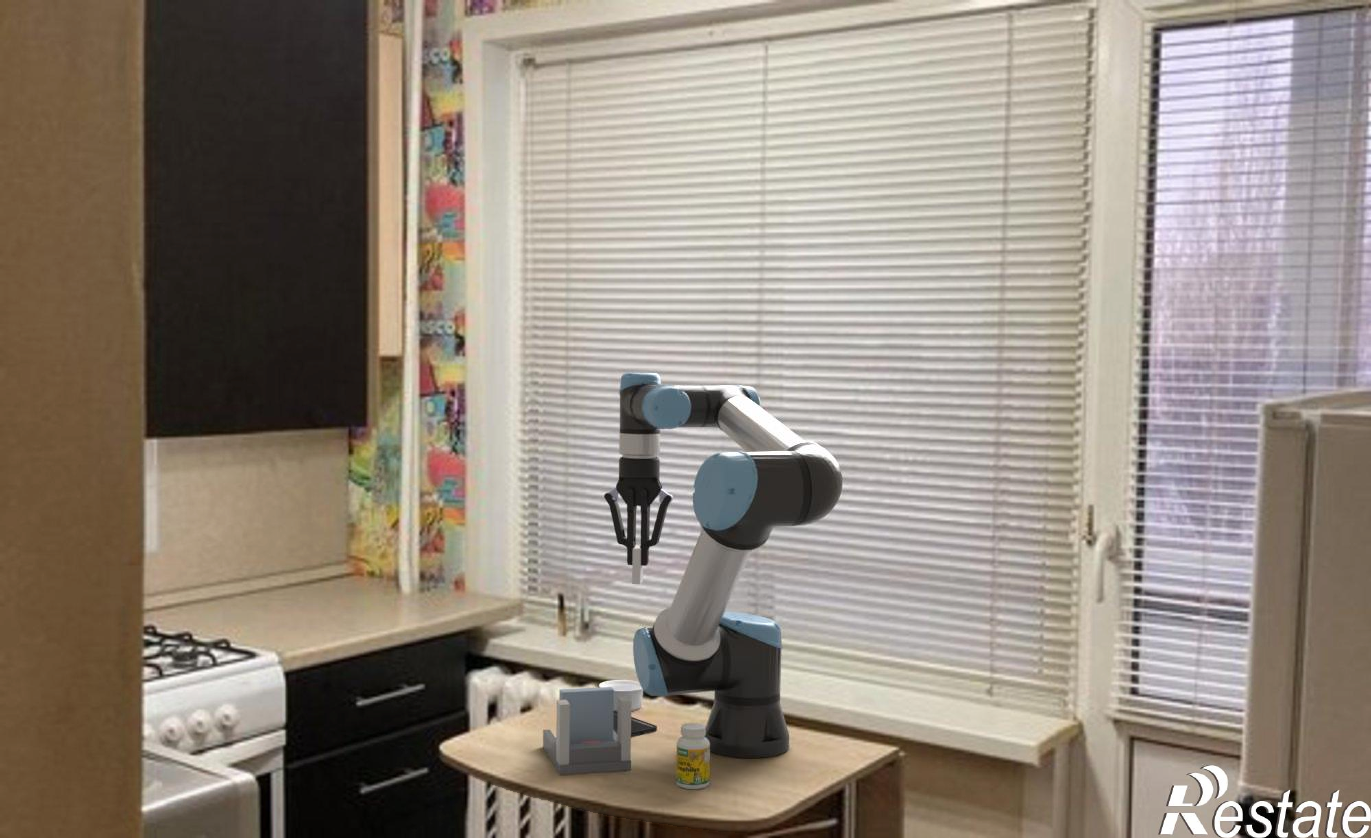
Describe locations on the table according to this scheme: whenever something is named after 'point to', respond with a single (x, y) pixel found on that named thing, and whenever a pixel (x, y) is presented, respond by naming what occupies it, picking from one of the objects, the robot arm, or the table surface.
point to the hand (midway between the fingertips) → (637, 582)
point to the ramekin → (626, 692)
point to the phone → (635, 726)
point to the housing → (589, 745)
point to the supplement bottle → (693, 757)
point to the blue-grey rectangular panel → (590, 713)
